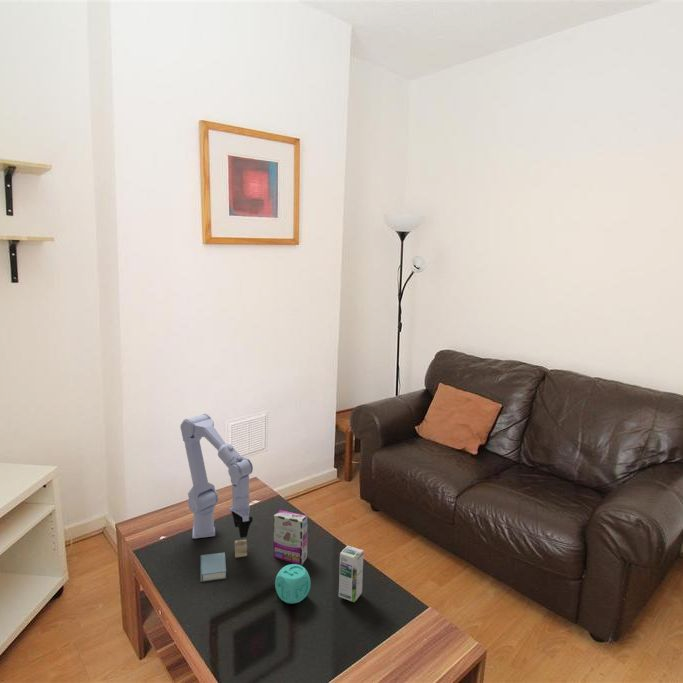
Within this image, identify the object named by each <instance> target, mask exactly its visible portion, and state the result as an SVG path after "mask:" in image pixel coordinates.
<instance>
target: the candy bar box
mask: <svg viewBox="0 0 683 683" xmlns="http://www.w3.org/2000/svg"><path fill="white" fill-rule="evenodd" d="M308 516H309V515H305V514H301V513H295V512H291V511H287V510H283V509H282V510H281V509H279V510H278V512H276V513H275V514H274V515H273V553H272V554H273V557H274V558H277V559H280V560H283V561H285V562H290V563H292V564H297V565H301V566H303V565H304V562H305V561H307V559H308V532H309V530H308V528H309V527H308V526H309V524H308V522H309V520H308V519H309V517H308Z"/></svg>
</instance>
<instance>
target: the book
mask: <svg viewBox="0 0 683 683" xmlns="http://www.w3.org/2000/svg"><path fill="white" fill-rule="evenodd" d="M226 565H227V564H226V552H218V553H207V554H201V555H200V583H202V582H209V581H216V580H224V579H227V566H226Z"/></svg>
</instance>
